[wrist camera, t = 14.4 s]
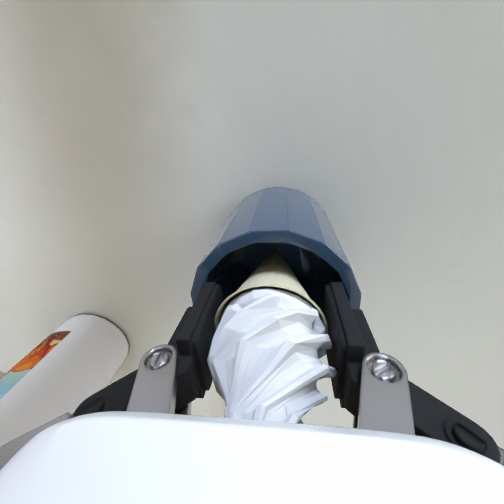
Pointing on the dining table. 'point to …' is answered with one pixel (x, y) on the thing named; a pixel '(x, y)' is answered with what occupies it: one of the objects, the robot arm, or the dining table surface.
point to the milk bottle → (60, 374)
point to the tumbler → (278, 246)
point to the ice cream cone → (269, 347)
